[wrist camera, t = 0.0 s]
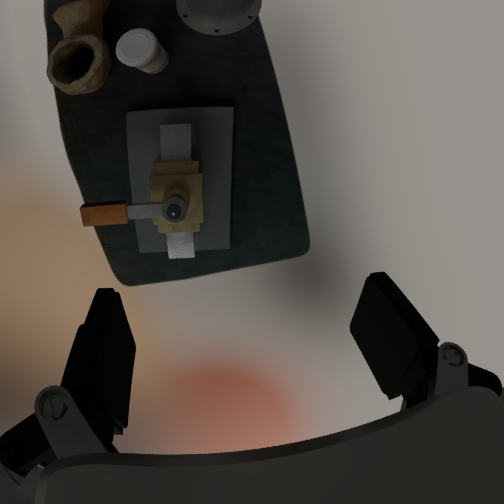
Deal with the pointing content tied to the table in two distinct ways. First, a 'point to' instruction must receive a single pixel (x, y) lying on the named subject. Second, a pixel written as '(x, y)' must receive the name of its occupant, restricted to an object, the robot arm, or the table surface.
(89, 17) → the pipe
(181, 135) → the valve
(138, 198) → the valve board
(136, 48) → the sprinkles bottle
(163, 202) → the lever
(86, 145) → the table surface
